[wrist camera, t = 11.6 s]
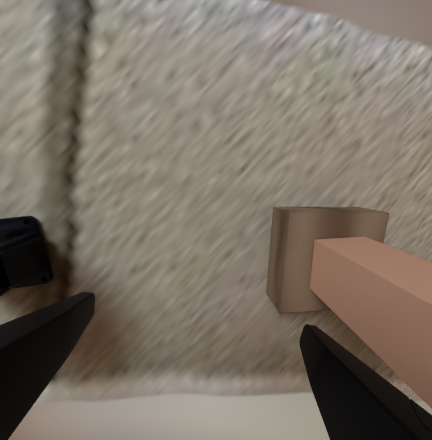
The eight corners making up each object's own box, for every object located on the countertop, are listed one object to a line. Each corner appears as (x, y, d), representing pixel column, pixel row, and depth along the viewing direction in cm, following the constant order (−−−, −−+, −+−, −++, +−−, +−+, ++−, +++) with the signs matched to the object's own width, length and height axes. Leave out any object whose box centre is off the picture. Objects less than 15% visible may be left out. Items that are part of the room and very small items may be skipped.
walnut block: (264, 290, 24) (279, 313, 20) (271, 206, 22) (289, 212, 18) (342, 286, 25) (370, 306, 22) (355, 206, 23) (389, 213, 19)
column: (309, 288, 20) (509, 485, 8) (314, 239, 19) (561, 376, 6) (356, 284, 21) (615, 460, 8) (364, 236, 19) (680, 356, 7)
